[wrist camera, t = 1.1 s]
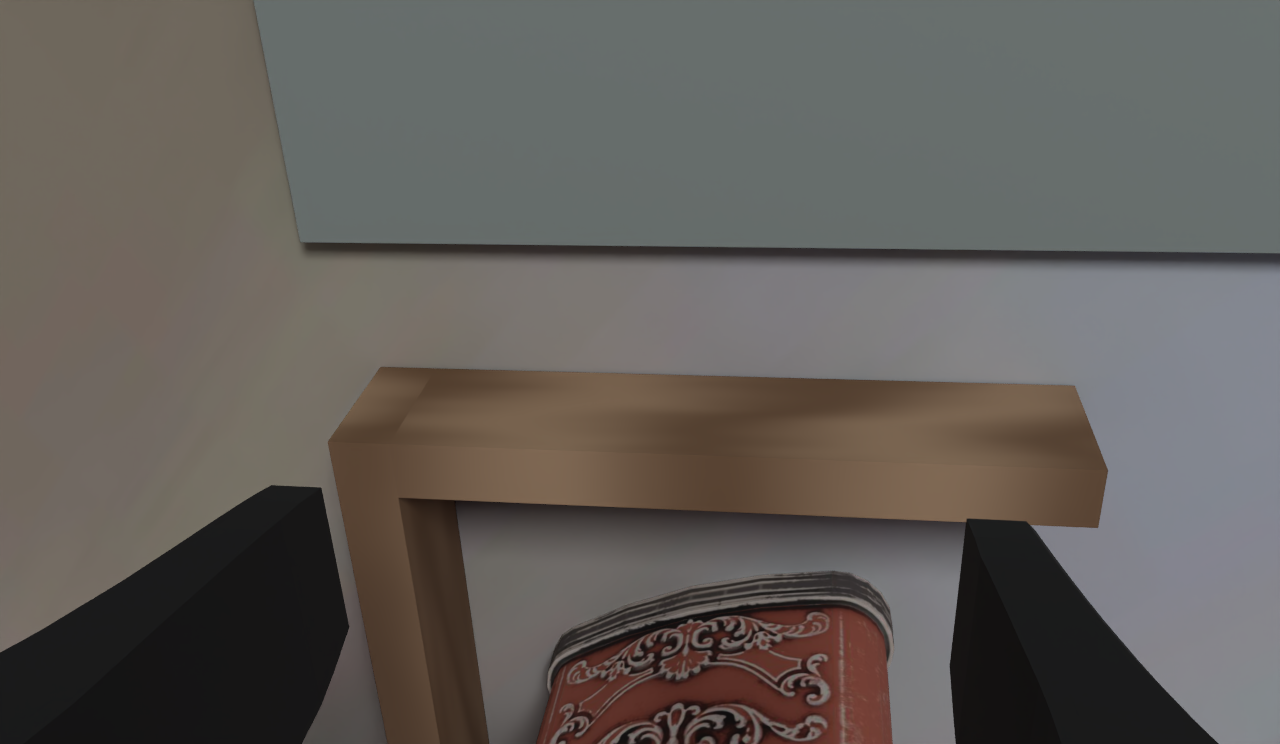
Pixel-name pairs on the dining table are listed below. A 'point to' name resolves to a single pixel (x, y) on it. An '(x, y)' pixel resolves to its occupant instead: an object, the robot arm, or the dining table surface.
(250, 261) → the dining table surface
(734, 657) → the lighter
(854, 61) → the mat
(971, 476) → the wooden u-shaped frame
